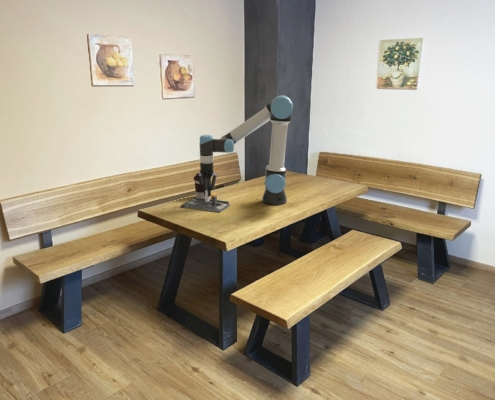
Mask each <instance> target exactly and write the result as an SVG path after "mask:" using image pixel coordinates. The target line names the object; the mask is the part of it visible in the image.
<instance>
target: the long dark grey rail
mask: <svg viewBox="0 0 495 400" xmlns="http://www.w3.org/2000/svg"><path fill="white" fill-rule="evenodd" d="M192 199H196V200H204V201H205V198H197V197H192ZM210 201H211V198H210ZM217 202H220V203H225V204H230V202H229V201H227V200H221V199H219V200H218V199H217Z"/></svg>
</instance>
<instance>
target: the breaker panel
mask: <svg viewBox="0 0 495 400" xmlns="http://www.w3.org/2000/svg"><path fill="white" fill-rule="evenodd" d="M188 201H189V200H188ZM188 201H186V202H188ZM230 206H231V205H230V203H229V204H225V203H220V202H217V205H216V206H214V205H211V201H208V202H205V201H204V200H196V199H194V200H192V201H191V202H188V203H187V204H185V205H184V209H185V208H186V209H191V210H192V209H193V210H199V211H207V212H212V213H213V212H214V213H215V212H216V213H221V212H223V211H224V210H227V208H229V207H230Z"/></svg>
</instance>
